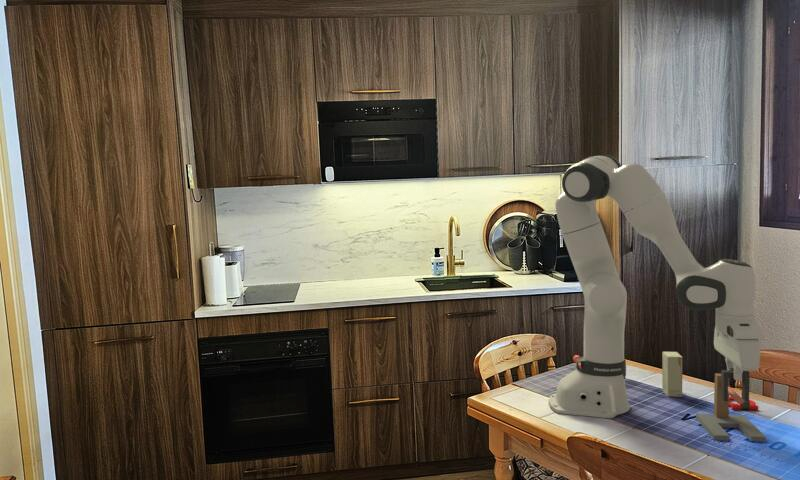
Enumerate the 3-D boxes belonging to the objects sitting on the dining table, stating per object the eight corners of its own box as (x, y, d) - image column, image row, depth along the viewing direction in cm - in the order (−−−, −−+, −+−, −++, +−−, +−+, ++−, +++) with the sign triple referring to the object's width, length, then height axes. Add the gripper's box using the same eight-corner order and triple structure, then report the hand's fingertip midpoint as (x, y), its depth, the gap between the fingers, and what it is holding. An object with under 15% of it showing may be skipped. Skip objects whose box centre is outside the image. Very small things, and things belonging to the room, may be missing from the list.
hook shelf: (714, 439, 152) (715, 390, 151) (695, 417, 166) (696, 372, 164) (766, 441, 150) (767, 391, 149) (743, 419, 164) (744, 373, 163)
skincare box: (682, 397, 181) (683, 357, 180) (667, 397, 182) (667, 357, 180) (676, 390, 187) (677, 351, 186) (661, 389, 188) (662, 350, 187)
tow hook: (717, 400, 179) (729, 410, 170) (718, 356, 179) (730, 364, 170) (748, 401, 178) (761, 411, 169) (748, 357, 177) (762, 365, 168)
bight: (723, 401, 154) (723, 372, 154) (721, 398, 156) (721, 370, 156) (749, 401, 154) (749, 372, 153) (746, 398, 155) (746, 370, 155)
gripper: (707, 314, 164) (707, 364, 165) (737, 333, 144) (736, 390, 145) (732, 314, 163) (732, 365, 164) (766, 333, 143) (765, 391, 144)
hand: (734, 377), depth 154 cm, fingers closed on bight, 2 cm apart
